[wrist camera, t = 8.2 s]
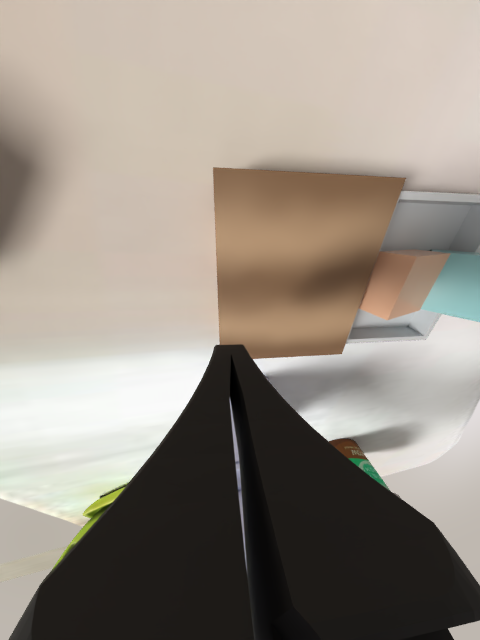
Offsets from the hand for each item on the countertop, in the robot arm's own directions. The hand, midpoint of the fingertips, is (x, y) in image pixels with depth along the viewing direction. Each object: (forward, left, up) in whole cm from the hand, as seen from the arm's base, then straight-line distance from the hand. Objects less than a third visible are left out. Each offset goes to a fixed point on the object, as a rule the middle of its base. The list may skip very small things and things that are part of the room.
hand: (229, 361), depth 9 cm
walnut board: (+2, -5, -10) cm, 11 cm away
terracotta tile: (+2, -15, -8) cm, 17 cm away
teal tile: (+2, -19, -6) cm, 20 cm away
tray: (+2, -17, -10) cm, 20 cm away
